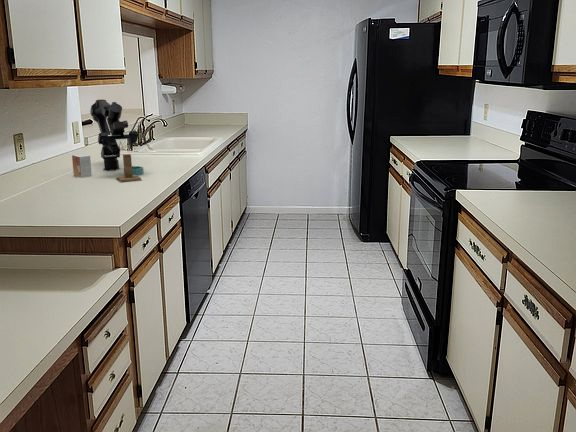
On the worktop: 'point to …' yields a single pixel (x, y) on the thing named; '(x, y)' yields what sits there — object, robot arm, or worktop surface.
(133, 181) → the mat
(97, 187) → the worktop surface
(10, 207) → the worktop surface
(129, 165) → the brown upright piece
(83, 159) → the small box
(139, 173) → the bowl
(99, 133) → the robot arm
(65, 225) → the worktop surface
